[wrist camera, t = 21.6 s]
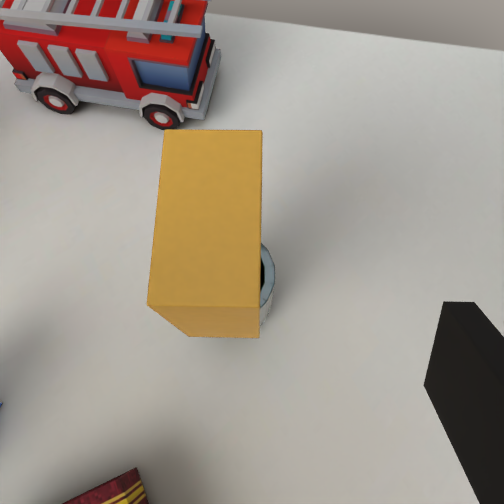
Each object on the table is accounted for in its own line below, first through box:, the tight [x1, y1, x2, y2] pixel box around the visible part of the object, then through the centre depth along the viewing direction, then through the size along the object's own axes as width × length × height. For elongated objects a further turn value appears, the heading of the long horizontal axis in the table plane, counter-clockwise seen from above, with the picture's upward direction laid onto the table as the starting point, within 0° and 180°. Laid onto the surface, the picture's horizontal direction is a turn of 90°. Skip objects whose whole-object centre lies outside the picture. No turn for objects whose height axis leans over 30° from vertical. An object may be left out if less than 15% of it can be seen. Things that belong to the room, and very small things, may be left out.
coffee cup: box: [260, 243, 275, 326], centre depth 30 cm, size 6×6×8 cm
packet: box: [147, 129, 262, 338], centre depth 22 cm, size 4×8×10 cm, turn 179°
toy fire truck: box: [0, 0, 221, 130], centre depth 37 cm, size 9×19×10 cm, turn 79°
